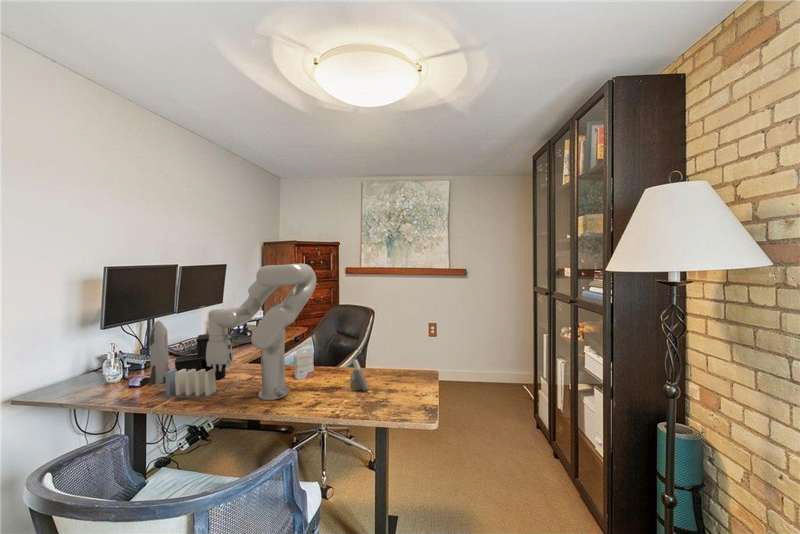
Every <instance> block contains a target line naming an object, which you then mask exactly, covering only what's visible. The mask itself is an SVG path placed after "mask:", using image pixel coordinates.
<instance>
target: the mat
mask: <svg viewBox="0 0 800 534" xmlns="http://www.w3.org/2000/svg"><path fill="white" fill-rule="evenodd" d="M222 390H223V389H222V388H216V391H215V392H214V393H212V394H211V395H209V396H205V392H204V393H202V394H201V395H199V396H196V394H195V392H194V393H192V394H191V395H186V392H184V393H183V394H181V395H176V392H175V393H173V394H171V395H166V392H165V393H163V394H162V395H160V396H159V397H157V398H163V399H164V398H165V399H166V398H170V399H171V398H172V399H173V398H176V399H178V398H179V399H182V398H183V399H185V398H186V399H210V398H212V397H213V396H215V395H216V394H218V393H219V392H221V391H222Z"/></svg>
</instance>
